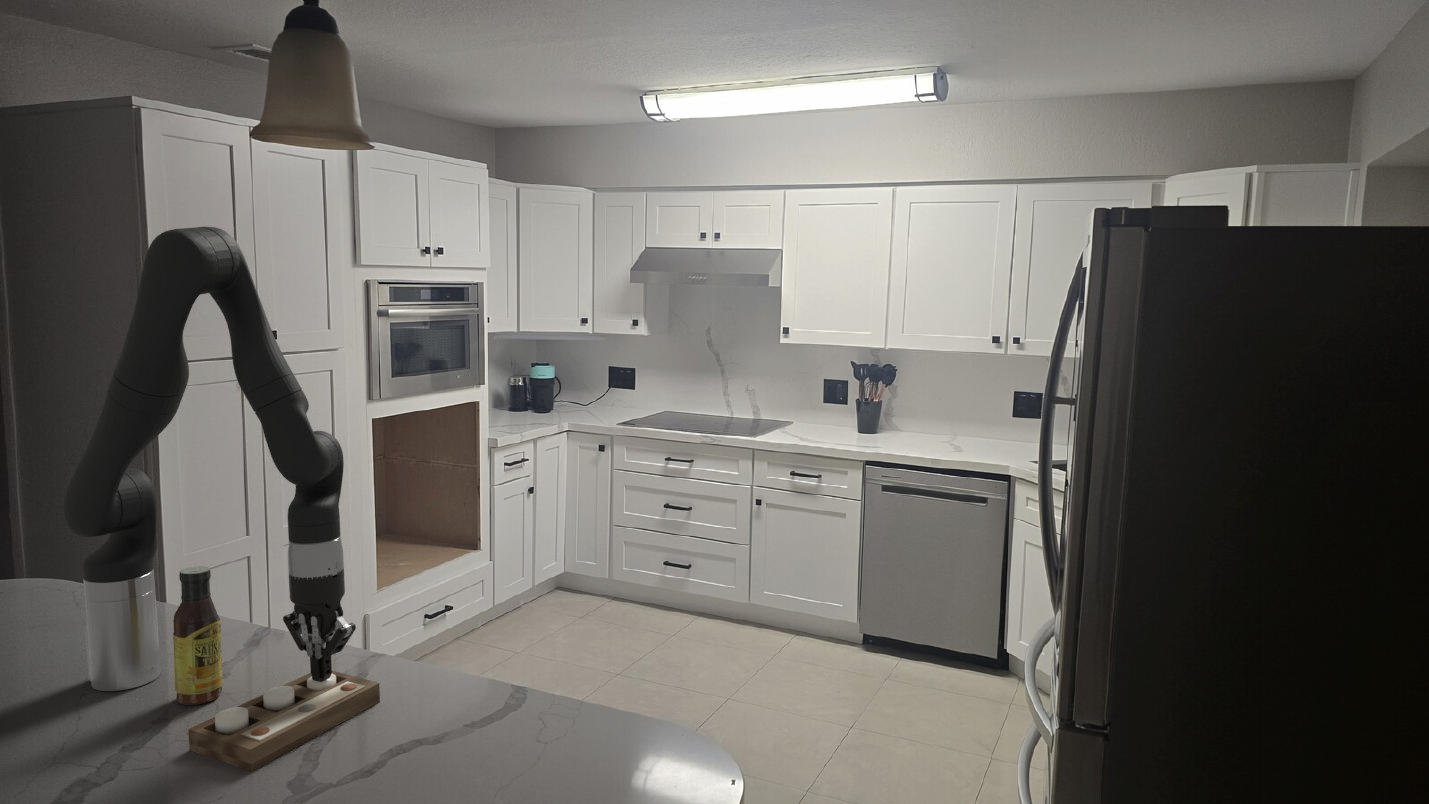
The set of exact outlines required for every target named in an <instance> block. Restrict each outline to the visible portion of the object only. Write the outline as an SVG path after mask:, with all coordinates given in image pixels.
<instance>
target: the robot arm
mask: <svg viewBox="0 0 1429 804" xmlns="http://www.w3.org/2000/svg"><path fill="white" fill-rule="evenodd" d="M145 255H146V256H145V259H144V263H143V267H142V270H141V271H142V272H141V277H140V281H139V287H138V290H137V291H138V292H137V296H136V299H135V300H136V301H135V304H134V305H135V306H134V310H133V314H132V317H131V320H130V324H129V327H128V330H127V332H126V334H125V335H126V336H125V339H124V342H123V345H122V349H121V352H120V354H119V357H118V360H117V362H116V364H115V367H114V370H113V372H112V375H111V378H110V381H109V384H108V387H107V390H106V395H105V398H104V400H103V404H102V407H101V409H100V413H99V416H98V417H97V420H96V423H95V425H94V428H93V431H92V433H91V436H90V438H89V440H88V443H87V446H86V447H85V450H84V452H83V453H82V456H81V458H80V460H79V462H78V463H77V465H76V468H75V470H74V471H73V473H72V475H71V477H70V480H69V482H68V484H67V486H66V488H65V492H64V496H63V499H62V500H63V501H62V512H63V513H62V515H63V519H64V522H65V525H66V526H67V528H68V530H69V531H70V532H71V533H73V534H74V535H77V536H80V537H83V538H90V537H91V538H93V537H100V536H105V535H108V534H109V536H108V538H107V539H106V541H105V542H104V543H103V544H102V545H101V546H99V547H98V548H97V549H96V550H94V551H93V552H91V554H89V555H88V556H87V557H85V559H84V560H83V562H82V566H81V569H82V570H81V571H82V572H81V573H82V581H83V593H84V596H83V597H84V605H85V618H86V619H85V620H86V621H85V623H84V632H85V633H84V634H85V637H84V638H85V647H86V660H87V673H88V681H90V684H91V687H92V688H93V690H95V691H101V692H115V691H117V692H118V691H125V690H130V689H133V688H137V687H140V686H143V685H147V684H148V683H151V682H153V681H154V680H156V679H157V678H158V677H159V676H160V675H161V671H162V670H161V659H160V657H161V656H160V655H161V654H160V641H159V628H158V627H159V626H158V614H157V613H158V612H157V611H158V610H157V599H156V597H157V595H156V586H155V585H156V584H155V583H156V582H155V569H154V561H155V560H154V559H155V556H156V554H157V549H158V508H157V507H158V506H157V504H158V502H157V497H156V496H157V495H156V490H155V488H154V485H153V483H152V481H151V478H149V476H148V475H147V474H146V473H145V472H144V471H142V470H140V469H138V468H133V467H132V468H129V466H130V465H131V464H132V462H133V461H134V460H135V459H136V457H138V455H139V454H141V452H142V451H144V449H146V448H147V447H148V446H149V445H150V444H152V442H153V441H154V440H155V439H156V438H157V437H158V436H159V435H160V434H161V433H162V432H163V431H164V430H165V429H166V428H167V427H168V426H169V424H170V423H171V422H172V421H173V419H174V417H175V416H176V414H177V412H178V409H179V407H180V405H181V402H182V400H183V397H184V393H185V392H186V389H187V386H188V383H189V382H188V381H189V380H190V379H189V377H190V367H189V361H188V357H187V352H186V349H185V345H184V331H185V327H186V323H187V321H188V318H189V315H190V313H191V310H192V308H193V306H194V304H195V303H196V301H197V298H199V296H201V295H204V294H209V295H210V296H211V298H212V299H213V300H214V302H215V303H216V305H217V306H218V308H219V309H220V312H221V313H222V315H223V317H224V319H225V321H226V325H227V328H228V332H229V338H230V348H231V357H232V358H231V359H232V365H233V370H234V375H235V377H236V380H237V382H238V383H237V384H238V385H239V387H240V389H241V391H242V393H243V395H244V396H245V399H246V401H248V403H249V405H250V407H251V408H252V410H253V412H254V414H255V416H257V419H258V420H259V422H260V424H261V428H262V432H263V436H264V439H265V442H266V445H267V447H268V451H269V454H270V457H271V459H272V462H273V463H274V465H275V467H276V469H277V470H278V472H279V473H280V475H281V476H282V477H283V478H284V479H285V480H287V481H288V482H289V483H291V484H293V485H295V491H294V497H293V499H292V501H290V504H289V506H288V509H287V528H288V529H287V531H288V533H287V534H288V548H287V549H288V550H287V566H288V567H287V569H288V584H289V585H288V586H289V587H288V588H289V600H290V602H291V603H292V604H294V605H293V611H292V612H291V613H288V614H285V615H283V617H282V621H283V623H284V624H285V626H286V629H287V630H288V633H290V636H291V637H292V639H293V640H294V642H295V644H296V646H297V648H298V650H299V651H301V652H302V651H305V652H306V655H307V656H308V657H309V665H310V673H311V675H312V680H315V681H319V682H322V681H324V680H327V679H329V678H330V676H331V674H332V671H333V670H332V668H333V667H332V665H333V664H332V656H333V655H336V654H337V653H340V652H342V651H343V649H344V648H345V646H346V644H347V643H348V642H349V641H350V639H351V637H352V635H353V634H354V632H355V631H356V629H357V627H356V624H355V623H354V622H350V623H348V621H346V620H345V618H344V610H343V607H342V605H341V601H342V599H343V598H344V595H345V593H346V587H345V586H346V585H345V567H344V566H345V564H344V563H345V562H344V561H345V560H344V549H343V543H342V537H341V536H342V535H341V519H340V518H341V517H340V516H341V515H340V508H339V506H340V498H341V493H342V485H343V477H344V454H343V450H342V446H341V444H340V442H339V440H338V439H337V438H336V437H335V436H333V434H331V433H329V432H327V431H325V430H324V431H323V430H315V431H314V430H313V427H312V425H311V422H310V420H309V418H308V416H307V412H308V410H309V408H310V405H309V400H308V398H307V396H306V394H305V392H304V391H303V388H302V387H301V385H300V383H299V381H298V379H297V378H296V375H295V373H294V372H293V370H292V369H291V367H290V366H289V363H288V362H287V360H286V358H285V356H284V354H283V352H282V351H281V348H280V346H279V344H278V342H277V340H276V337H275V335H274V333H273V330H272V328H271V324H270V322H269V320H268V317H267V315H266V311H265V309H264V307H263V303H262V301H261V299H260V296H259V293H258V291H257V288H256V286H255V281H254V279H253V277H252V273H251V271H250V268H249V265H248V262H247V260H246V258H245V256H244V253H243V251H242V249H241V248H240V246H239V244H238V242H237V241H236V239H235V238H234V237H233V236H232V235H231V234H230V233H229V232H227V231H225V230H223V229H221V228H218V227H216V226H195V227H186V228H185V227H184V228H180V227H179V228H173V229H170V230H169V229H168V230H165V231H163V232H161V233H160V234H158V235H156V237H155V238H154V239H153V240H152V241H151V243H150V245H149V247H148V249H147V251H146V254H145Z"/></svg>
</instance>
